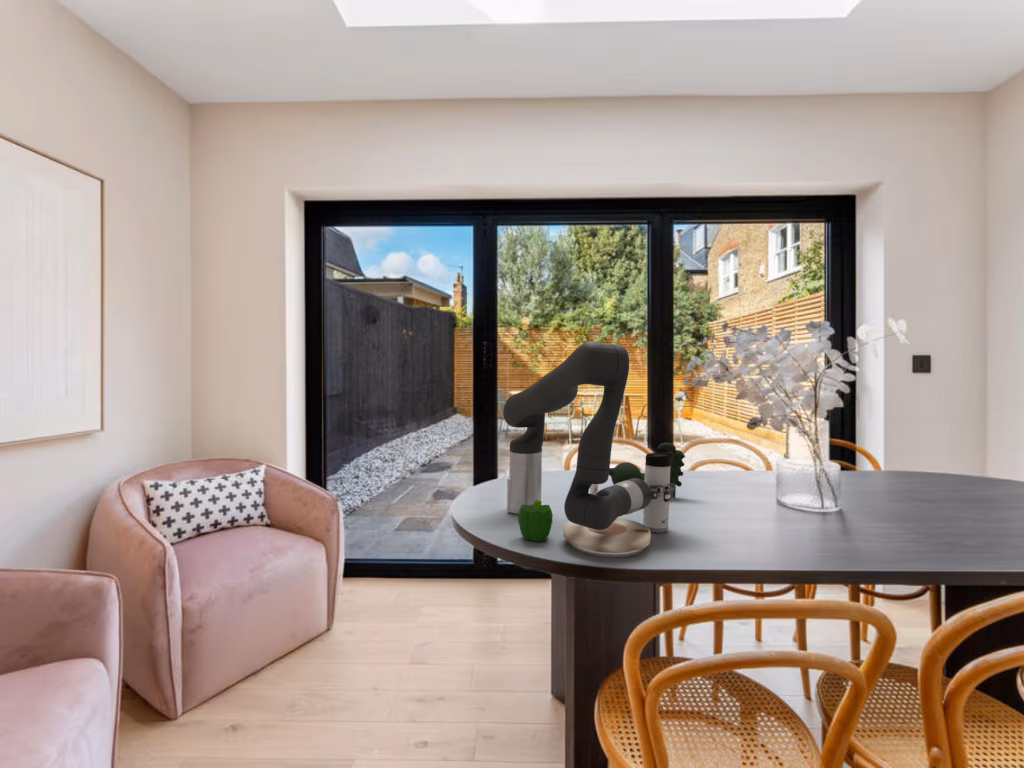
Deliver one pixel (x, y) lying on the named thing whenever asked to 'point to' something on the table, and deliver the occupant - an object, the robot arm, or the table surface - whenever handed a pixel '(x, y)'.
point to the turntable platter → (609, 536)
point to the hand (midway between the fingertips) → (661, 485)
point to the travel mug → (657, 474)
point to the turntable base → (606, 554)
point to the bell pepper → (535, 521)
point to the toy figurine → (632, 471)
